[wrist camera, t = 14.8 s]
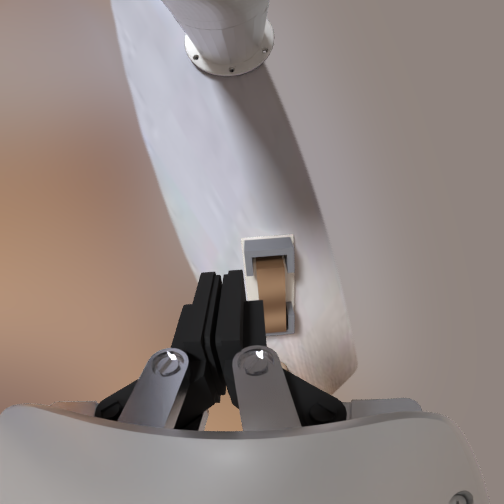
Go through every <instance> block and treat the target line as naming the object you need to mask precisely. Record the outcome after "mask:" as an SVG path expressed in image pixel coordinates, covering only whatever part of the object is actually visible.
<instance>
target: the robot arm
mask: <svg viewBox="0 0 504 504" xmlns="http://www.w3.org/2000/svg"><path fill="white" fill-rule="evenodd" d="M161 1H162V2H163V3H164V4H165V6H166V7H167V8H168V9H169V11H170V12H171V13H172V15H173V16H174V18H175V19H176V20H177V22H178V23H179V25H180V26H181V27H182V29H183V30H184V32H185V33H186V34H185V41H184V44H185V50H186V52H187V55H188V57H189V58H190V59H191V61H192V62H193V63H194V64H195V65H196V66H197V67H198V68H200V69H201V70H203V71H205V72H207V73H209V74H213V75H217V76H236V75H241V74H244V73H247V72H250V71H252V70H253V69H255V68H257V67H258V66H260V65H261V64H262V63H263V62H264V61H265V60H266V59H267V57H268V56H269V54H270V52H271V50H272V47H273V44H274V31H273V28H272V25H271V23H270V22H269V20H268V19H267V12H268V6H269V0H161ZM263 51H266V53H263ZM196 58H199V59H198V60H195V59H196ZM230 70H234V72H230ZM226 386H227V390H228V393H229V395H230V398H231V401H232V404H233V405H234V406H236V407H237V408H238V409H239V410H240V416H241V422H242V427H243V431H235V432H234V431H233V432H232V431H231V432H230V431H227V432H225V431H217V432H216V431H204V428H205V425H206V422H207V418H208V413H209V410H208V408H210V407H211V406H212V405H214V404H215V403H220V396H221V395H225V393H226ZM0 504H490V500H489V496H488V492H487V489H486V485H485V481H484V478H483V475H482V472H481V470H480V467H479V464H478V462H477V459H476V457H475V454H474V452H473V450H472V448H471V446H470V444H469V442H468V440H467V439H466V437H465V435H464V433H463V432H462V430H461V429H460V428H459V426H458V425H457V424H456V423H455V422H454V421H453V420H452V419H450V418H449V417H447V416H445V415H441V414H438V413H433V412H423V411H422V409H421V406H420V405H419V404H418V403H417V402H416V401H415V400H412V399H410V398H394V399H373V400H352V401H351V402H349V403H346V402H341V401H339V400H338V399H337V398H335V397H333V396H331V395H329V394H328V393H326V392H324V391H322V390H320V389H318V388H317V387H315V386H313V385H311V384H309V383H308V382H306V381H304V380H302V379H300V378H299V377H297V376H295V375H294V374H292V373H290V372H288V371H287V370H285V369H283V368H282V366H281V363H280V360H279V357H278V355H277V353H276V352H275V351H273V350H272V349H271V348H268V347H267V344H266V331H265V318H264V305H263V300H253V301H246V294H245V286H244V278H243V271H242V270H232V271H229V272H228V274H226V275H224V277H223V284H222V281H221V276H220V275H216V273H215V272H205V273H201V275H200V279H199V282H198V286H197V290H196V293H195V297H194V301H193V304H188V305H184V306H183V309H182V312H181V315H180V318H179V322H178V325H177V328H176V332H175V335H174V339H173V342H172V345H171V348H167V349H163V350H160V351H158V352H156V353H155V354H153V355H152V356H151V358H150V359H149V361H148V362H147V364H146V366H145V368H144V370H143V372H142V374H141V376H140V377H139V379H138V380H136V381H134V382H133V383H131V384H129V385H128V386H126V387H124V388H122V389H121V390H119V391H117V392H116V393H114V394H112V395H111V396H109V397H107V398H105V399H104V400H102V401H101V402H100V403H99V404H98V403H97V402H96V401H78V402H63V401H59V402H54V403H53V404H51V405H50V406H48V405H42V404H29V403H28V404H17V405H13V406H10V407H8V408H6V409H5V410H4V411H3V412H2V413H1V415H0Z"/></svg>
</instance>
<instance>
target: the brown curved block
mask: <svg viewBox="0 0 504 504" xmlns="http://www.w3.org/2000/svg"><path fill="white" fill-rule="evenodd" d="M256 272H257V284H258V295H259V300H263V305H264V318H265V331H266V333H275V332H286V291H285V266H284V262H283V258H282V255H276V256H263V257H256Z"/></svg>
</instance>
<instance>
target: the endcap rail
mask: <svg viewBox="0 0 504 504" xmlns="http://www.w3.org/2000/svg"><path fill="white" fill-rule="evenodd" d="M241 244H242V253H243V262H244V271H245V280H246V289H247V298H248V301H253V300H259V295H258V284H257V272H256V257H263V256H276V255H282V258H283V262H284V266H285V291H286V332H275V333H266V336H272V335H283V334H294V322H295V315H294V273H295V272H294V238H293V234H289V235H276V236H263V237H250V238H241Z"/></svg>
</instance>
